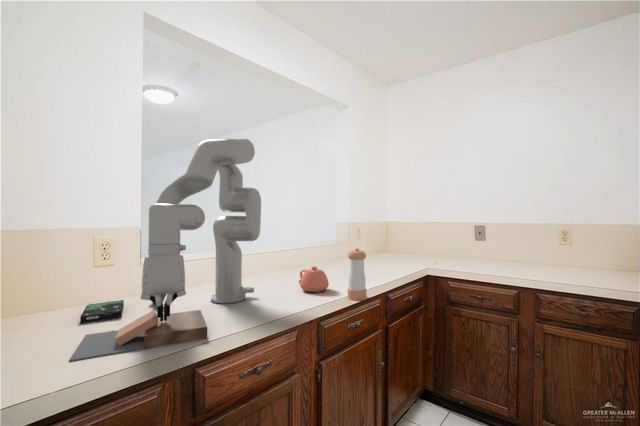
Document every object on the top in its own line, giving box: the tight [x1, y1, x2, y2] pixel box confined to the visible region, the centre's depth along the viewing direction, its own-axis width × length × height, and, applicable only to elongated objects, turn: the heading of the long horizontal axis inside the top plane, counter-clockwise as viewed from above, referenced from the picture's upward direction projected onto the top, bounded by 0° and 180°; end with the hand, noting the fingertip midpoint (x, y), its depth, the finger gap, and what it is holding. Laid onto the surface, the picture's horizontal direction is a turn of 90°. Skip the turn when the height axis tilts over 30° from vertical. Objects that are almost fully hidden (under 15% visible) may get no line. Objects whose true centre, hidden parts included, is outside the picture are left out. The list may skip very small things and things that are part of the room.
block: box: [115, 309, 158, 346], centre depth 77 cm, size 9×7×2 cm
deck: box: [143, 309, 208, 350], centre depth 82 cm, size 14×16×3 cm
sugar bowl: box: [298, 266, 329, 293], centre depth 131 cm, size 12×14×10 cm
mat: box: [68, 329, 145, 363], centre depth 75 cm, size 14×16×1 cm
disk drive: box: [79, 299, 125, 324], centre depth 98 cm, size 10×3×15 cm
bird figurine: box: [148, 294, 167, 308], centre depth 106 cm, size 5×5×6 cm
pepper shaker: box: [347, 248, 367, 301], centre depth 118 cm, size 7×7×19 cm
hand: (163, 319), depth 81 cm, fingers closed
